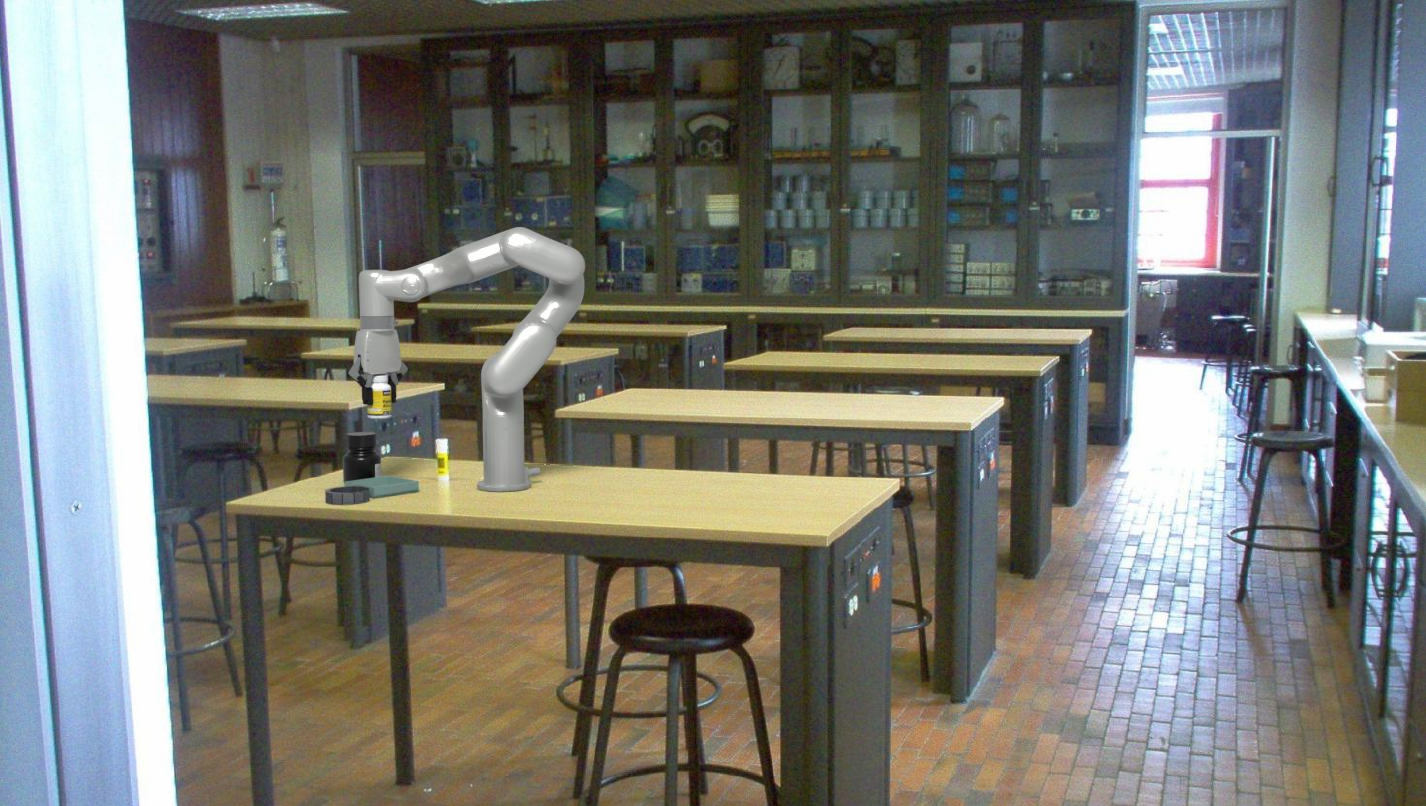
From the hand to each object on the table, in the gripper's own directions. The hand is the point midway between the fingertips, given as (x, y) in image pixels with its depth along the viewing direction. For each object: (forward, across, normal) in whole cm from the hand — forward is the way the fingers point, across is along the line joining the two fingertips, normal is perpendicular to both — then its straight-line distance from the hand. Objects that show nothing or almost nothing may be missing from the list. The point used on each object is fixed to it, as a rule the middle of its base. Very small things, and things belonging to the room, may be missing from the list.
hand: (379, 402), depth 303 cm
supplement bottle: (+4, 0, 0) cm, 4 cm away
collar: (+21, +12, +4) cm, 24 cm away
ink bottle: (+21, -4, -14) cm, 26 cm away
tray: (+21, 0, 0) cm, 21 cm away
